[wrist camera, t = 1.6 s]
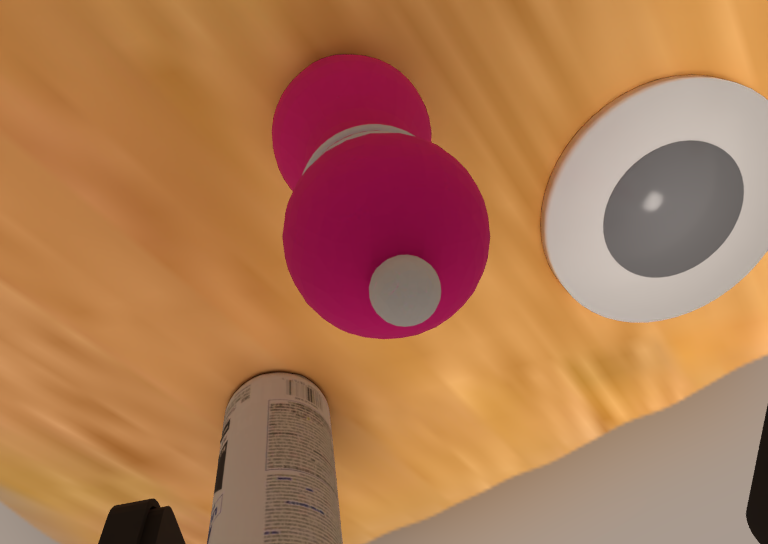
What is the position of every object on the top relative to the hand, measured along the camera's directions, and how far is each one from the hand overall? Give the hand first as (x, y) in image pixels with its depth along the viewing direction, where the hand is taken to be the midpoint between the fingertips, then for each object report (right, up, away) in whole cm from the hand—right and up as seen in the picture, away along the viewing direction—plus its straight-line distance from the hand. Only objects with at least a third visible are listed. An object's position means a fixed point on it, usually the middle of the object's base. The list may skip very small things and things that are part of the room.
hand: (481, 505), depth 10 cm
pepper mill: (-4, +12, +23) cm, 26 cm away
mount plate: (+15, +8, +27) cm, 32 cm away
